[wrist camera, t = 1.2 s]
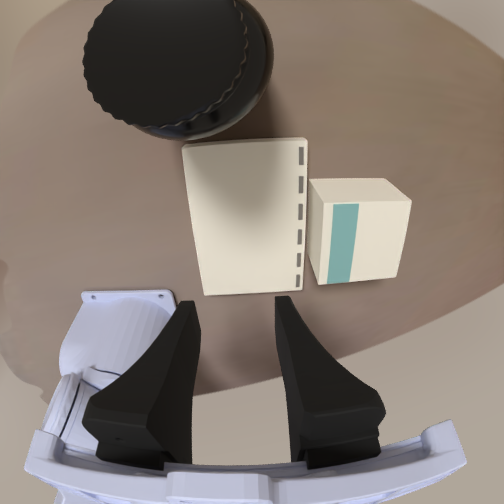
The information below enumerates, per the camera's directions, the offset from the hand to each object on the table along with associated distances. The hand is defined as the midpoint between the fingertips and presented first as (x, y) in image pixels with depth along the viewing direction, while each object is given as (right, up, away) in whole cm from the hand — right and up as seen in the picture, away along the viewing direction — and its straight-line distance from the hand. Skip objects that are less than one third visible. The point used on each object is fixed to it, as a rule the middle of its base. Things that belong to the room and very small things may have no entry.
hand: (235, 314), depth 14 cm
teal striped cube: (+8, +6, +9) cm, 13 cm away
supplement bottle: (-2, +15, +3) cm, 15 cm away
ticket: (+1, +5, +8) cm, 10 cm away
